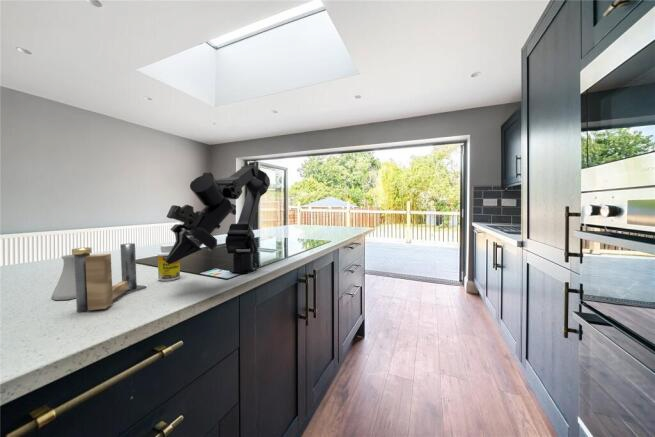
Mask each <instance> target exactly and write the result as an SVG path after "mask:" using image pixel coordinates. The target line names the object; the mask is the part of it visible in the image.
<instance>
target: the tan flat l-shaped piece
mask: <svg viewBox="0 0 655 437" xmlns="http://www.w3.org/2000/svg"><path fill="white" fill-rule="evenodd" d="M85 262H86V283H87V303H88V310H89V311H94V310H105V309H107V308H108V307H110V306H111V305H113V304H114V299H115V298H117V297H119V295H121V294H123V292H124V291H126V290H128V289H129V287H128V281H122V280H120V281H119V282H118V283H115V284H114V285H113V278H112V277H113V274H112V272H113V271H112V254H111V253H96V254H90V256H87V257H85Z"/></svg>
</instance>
